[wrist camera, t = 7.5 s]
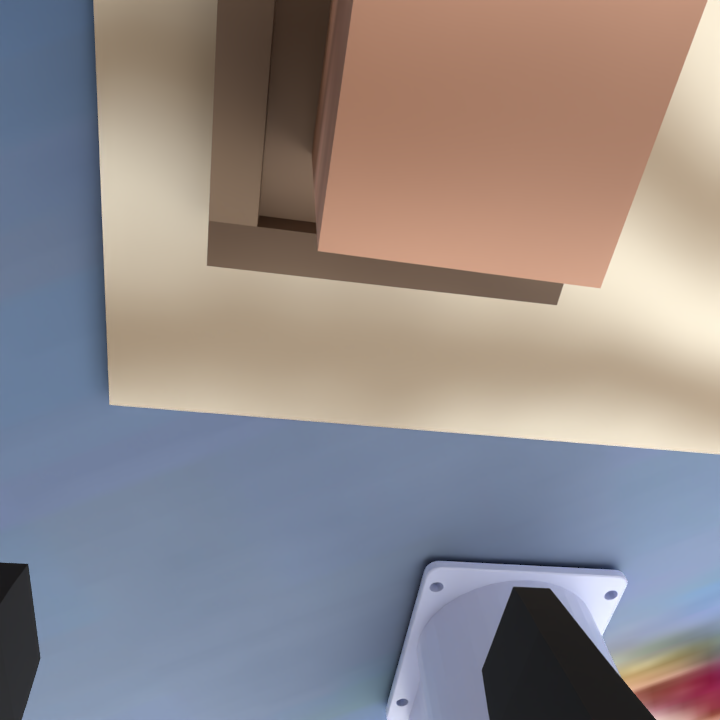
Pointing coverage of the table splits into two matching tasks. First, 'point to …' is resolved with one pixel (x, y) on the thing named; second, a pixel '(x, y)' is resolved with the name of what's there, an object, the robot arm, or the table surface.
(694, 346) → the build mat
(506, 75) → the block
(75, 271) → the table surface
